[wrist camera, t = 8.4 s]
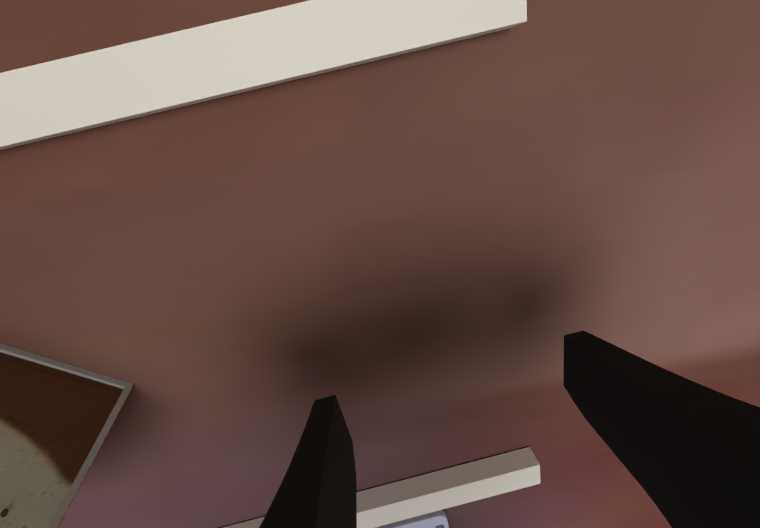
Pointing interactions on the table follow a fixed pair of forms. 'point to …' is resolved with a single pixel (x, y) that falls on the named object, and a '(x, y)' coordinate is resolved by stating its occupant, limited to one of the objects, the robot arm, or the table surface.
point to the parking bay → (253, 71)
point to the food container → (49, 433)
